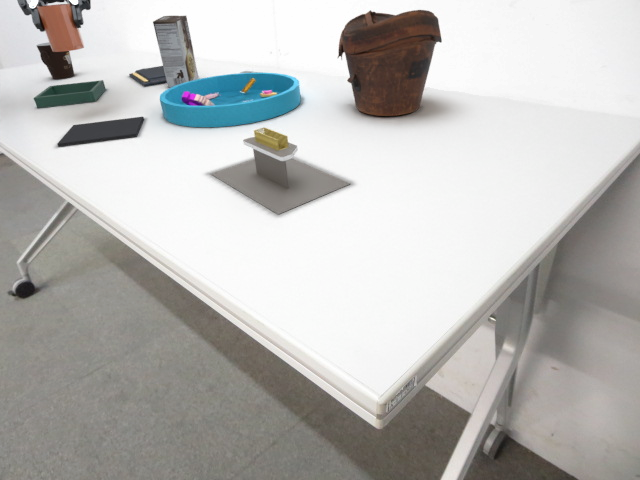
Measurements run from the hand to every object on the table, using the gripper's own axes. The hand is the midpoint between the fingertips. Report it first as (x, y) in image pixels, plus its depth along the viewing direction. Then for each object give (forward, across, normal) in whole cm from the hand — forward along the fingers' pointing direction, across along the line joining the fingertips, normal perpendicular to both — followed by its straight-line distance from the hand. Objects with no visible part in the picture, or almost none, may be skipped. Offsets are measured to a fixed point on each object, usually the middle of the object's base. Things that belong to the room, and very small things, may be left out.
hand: (59, 26), depth 88 cm
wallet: (-13, +16, +40) cm, 45 cm away
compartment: (-4, -6, +30) cm, 31 cm away
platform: (+49, +29, -23) cm, 61 cm away
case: (+32, +58, -6) cm, 67 cm away
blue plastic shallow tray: (+18, +30, +8) cm, 36 cm away
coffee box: (-4, +22, +30) cm, 37 cm away
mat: (+22, +4, +4) cm, 22 cm away
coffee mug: (-28, -15, +54) cm, 63 cm away
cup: (+2, 0, +4) cm, 5 cm away
